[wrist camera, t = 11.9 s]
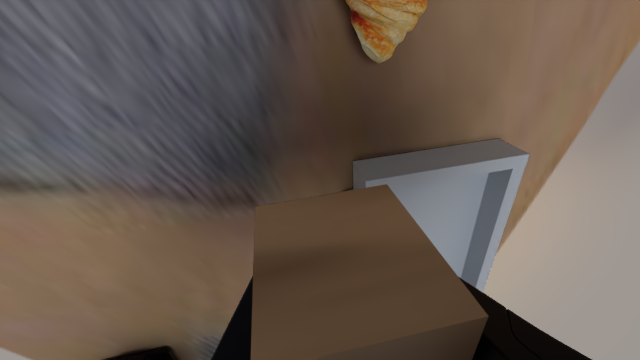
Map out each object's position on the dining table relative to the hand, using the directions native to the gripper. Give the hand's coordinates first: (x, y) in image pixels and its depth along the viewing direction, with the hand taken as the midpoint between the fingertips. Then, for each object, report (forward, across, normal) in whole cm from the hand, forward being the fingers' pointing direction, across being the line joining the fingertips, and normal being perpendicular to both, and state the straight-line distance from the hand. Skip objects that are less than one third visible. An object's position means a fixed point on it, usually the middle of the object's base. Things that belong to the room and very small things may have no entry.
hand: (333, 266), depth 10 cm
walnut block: (+1, 0, 0) cm, 1 cm away
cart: (+11, -10, +12) cm, 19 cm away
